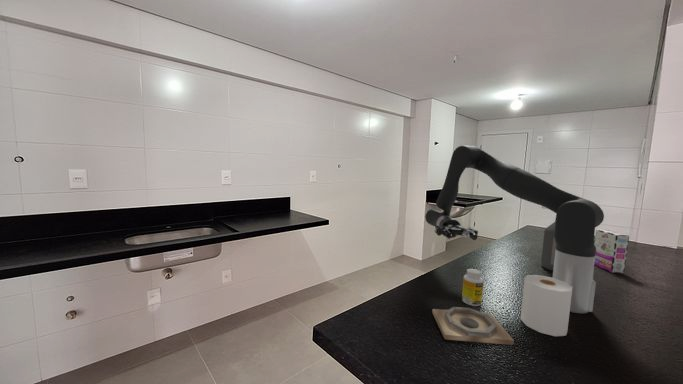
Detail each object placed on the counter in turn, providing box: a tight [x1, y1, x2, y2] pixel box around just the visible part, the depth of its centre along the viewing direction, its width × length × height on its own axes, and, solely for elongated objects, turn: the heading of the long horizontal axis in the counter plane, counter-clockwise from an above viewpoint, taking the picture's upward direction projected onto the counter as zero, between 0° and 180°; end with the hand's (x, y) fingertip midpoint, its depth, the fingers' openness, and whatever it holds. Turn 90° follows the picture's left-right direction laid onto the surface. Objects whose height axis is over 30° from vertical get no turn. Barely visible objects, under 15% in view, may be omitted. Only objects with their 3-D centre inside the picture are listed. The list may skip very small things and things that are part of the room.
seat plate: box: [431, 306, 515, 346], centre depth 70 cm, size 16×12×2 cm
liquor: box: [540, 221, 556, 272], centre depth 114 cm, size 9×9×30 cm
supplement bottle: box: [461, 268, 484, 307], centre depth 83 cm, size 6×6×10 cm
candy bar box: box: [594, 228, 630, 274], centre depth 117 cm, size 11×5×16 cm, turn 172°
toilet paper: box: [520, 274, 573, 337], centre depth 72 cm, size 10×10×12 cm
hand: (462, 236), depth 93 cm, fingers open, 8 cm apart
